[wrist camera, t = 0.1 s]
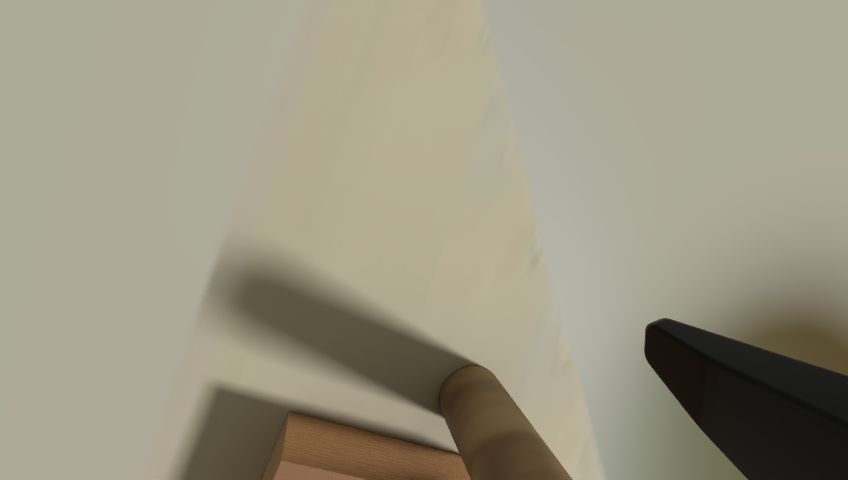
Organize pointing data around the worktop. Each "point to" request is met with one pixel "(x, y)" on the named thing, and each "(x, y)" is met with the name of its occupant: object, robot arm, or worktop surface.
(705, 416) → the robot arm
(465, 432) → the pin
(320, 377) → the worktop surface
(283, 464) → the hollow square frame
